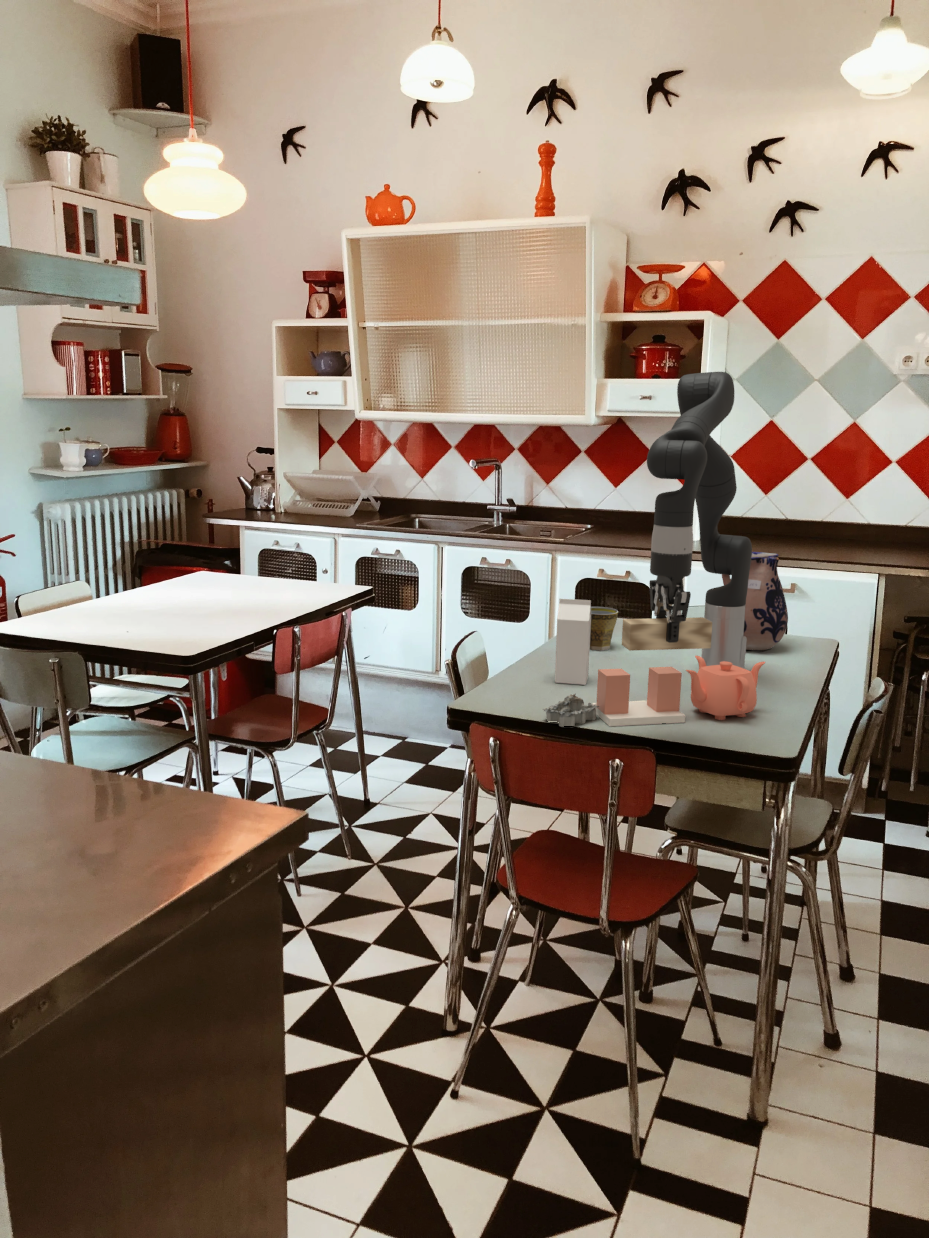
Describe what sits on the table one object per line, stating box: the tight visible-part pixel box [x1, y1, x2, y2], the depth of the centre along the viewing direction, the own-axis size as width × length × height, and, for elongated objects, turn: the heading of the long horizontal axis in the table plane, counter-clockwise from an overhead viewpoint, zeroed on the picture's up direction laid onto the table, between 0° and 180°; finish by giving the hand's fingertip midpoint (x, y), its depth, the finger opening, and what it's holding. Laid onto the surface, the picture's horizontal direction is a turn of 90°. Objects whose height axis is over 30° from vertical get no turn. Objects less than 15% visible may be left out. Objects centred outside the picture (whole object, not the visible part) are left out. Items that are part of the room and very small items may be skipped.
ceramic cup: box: [590, 606, 619, 652], centre depth 259 cm, size 13×10×10 cm
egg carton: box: [542, 693, 599, 728], centre depth 198 cm, size 11×8×4 cm
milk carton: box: [554, 598, 592, 686], centre depth 225 cm, size 7×7×19 cm
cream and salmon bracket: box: [591, 666, 686, 727], centre depth 200 cm, size 16×11×10 cm
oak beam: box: [621, 616, 712, 652], centre depth 186 cm, size 16×4×5 cm, turn 99°
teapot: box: [685, 655, 766, 721], centre depth 203 cm, size 14×14×11 cm
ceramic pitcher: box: [721, 551, 789, 651], centre depth 261 cm, size 18×21×25 cm
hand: (666, 638), depth 186 cm, fingers closed on oak beam, 4 cm apart
